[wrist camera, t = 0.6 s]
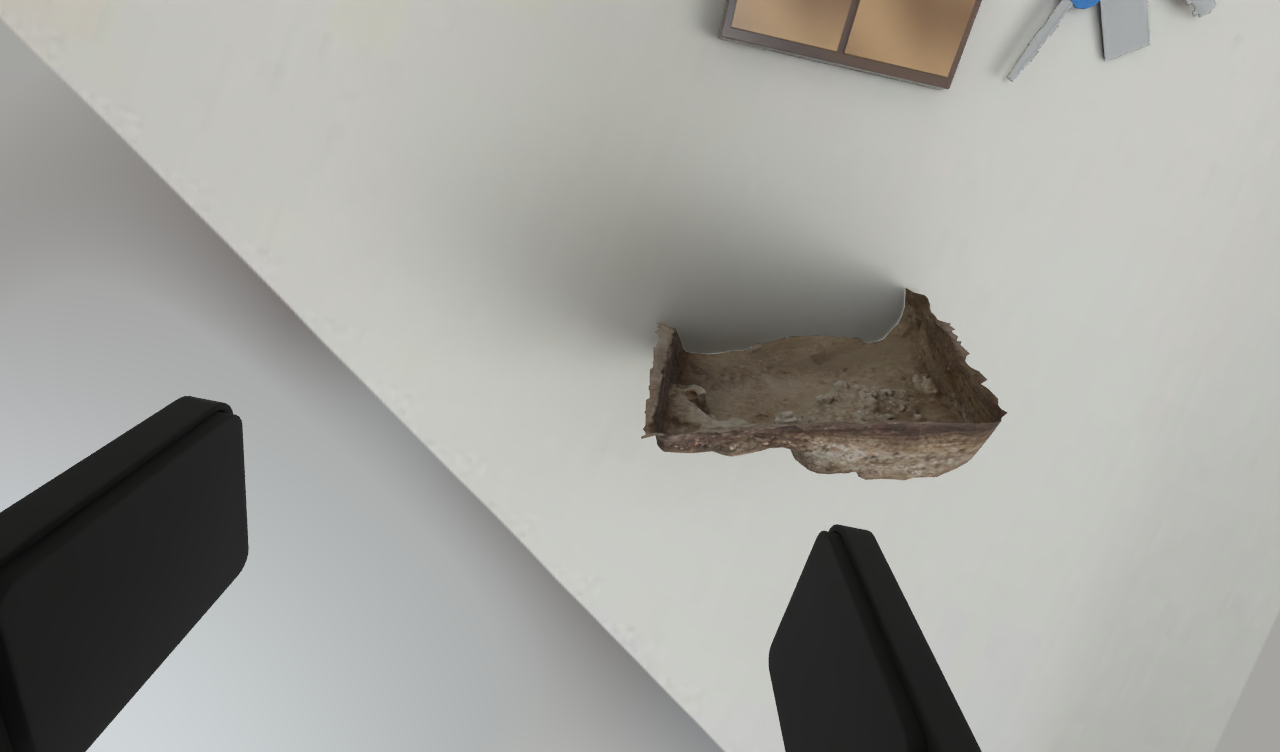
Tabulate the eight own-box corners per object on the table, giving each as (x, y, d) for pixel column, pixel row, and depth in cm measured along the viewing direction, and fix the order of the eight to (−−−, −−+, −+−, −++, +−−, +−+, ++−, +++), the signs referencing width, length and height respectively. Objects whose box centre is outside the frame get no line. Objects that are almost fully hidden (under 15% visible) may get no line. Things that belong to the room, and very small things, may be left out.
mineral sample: (916, 285, 38) (1064, 393, 24) (911, 346, 40) (1048, 480, 26) (643, 313, 39) (638, 432, 26) (650, 371, 41) (648, 512, 27)
